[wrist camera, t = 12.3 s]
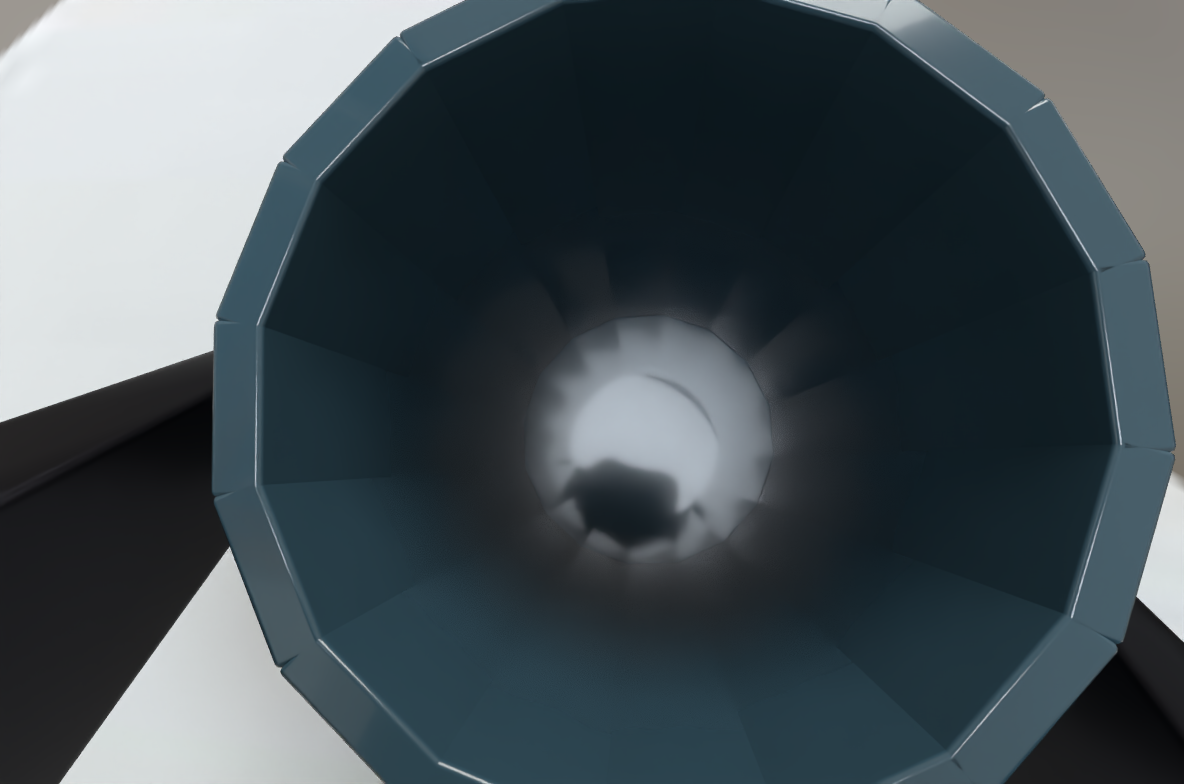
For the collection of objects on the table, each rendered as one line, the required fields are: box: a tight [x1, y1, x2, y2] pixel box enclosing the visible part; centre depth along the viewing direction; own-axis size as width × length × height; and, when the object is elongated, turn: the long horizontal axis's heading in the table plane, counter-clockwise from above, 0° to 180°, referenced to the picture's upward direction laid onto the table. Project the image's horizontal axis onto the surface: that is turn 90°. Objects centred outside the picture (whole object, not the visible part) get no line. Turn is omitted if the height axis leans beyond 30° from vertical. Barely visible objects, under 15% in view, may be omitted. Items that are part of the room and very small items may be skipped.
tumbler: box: [211, 0, 1176, 784], centre depth 11 cm, size 7×7×12 cm
